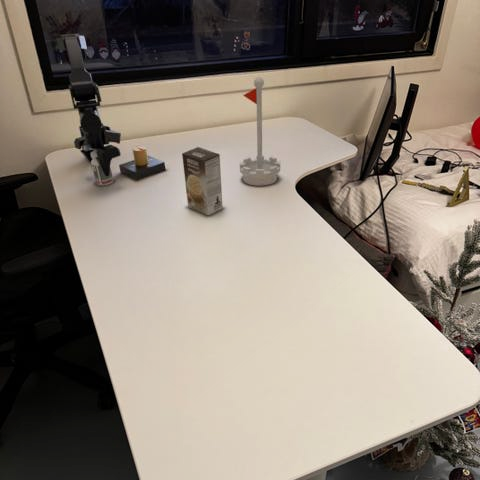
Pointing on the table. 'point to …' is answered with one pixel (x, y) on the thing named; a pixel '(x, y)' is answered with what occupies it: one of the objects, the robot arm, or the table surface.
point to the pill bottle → (100, 171)
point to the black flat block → (142, 168)
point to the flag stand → (259, 148)
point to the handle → (140, 155)
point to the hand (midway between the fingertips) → (102, 173)
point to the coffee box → (203, 180)
